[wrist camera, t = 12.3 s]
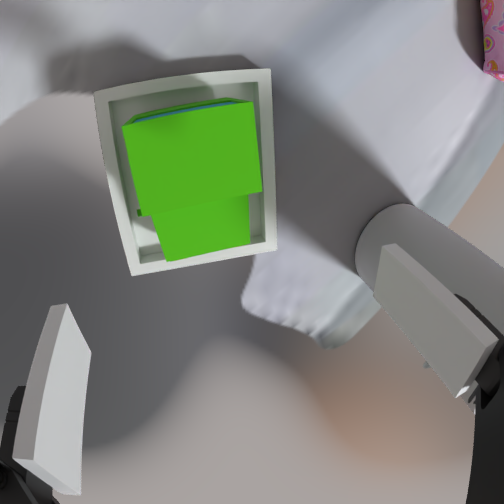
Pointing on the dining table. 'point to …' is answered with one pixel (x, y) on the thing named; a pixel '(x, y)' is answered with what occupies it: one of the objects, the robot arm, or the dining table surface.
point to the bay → (173, 94)
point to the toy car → (195, 173)
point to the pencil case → (493, 37)
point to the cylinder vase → (435, 261)
